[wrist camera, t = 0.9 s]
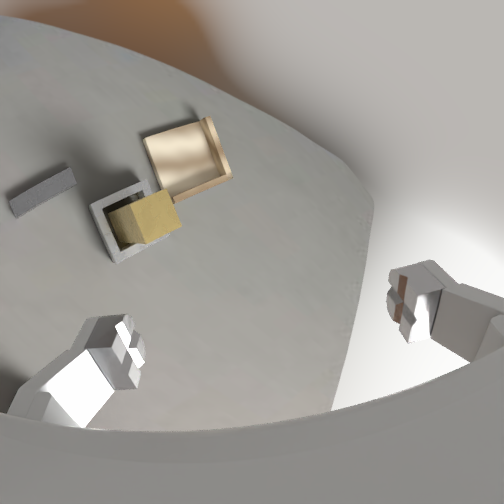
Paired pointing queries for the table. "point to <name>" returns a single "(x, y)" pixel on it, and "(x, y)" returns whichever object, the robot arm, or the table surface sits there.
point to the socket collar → (104, 229)
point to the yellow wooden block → (145, 219)
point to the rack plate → (188, 159)
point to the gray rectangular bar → (42, 192)
